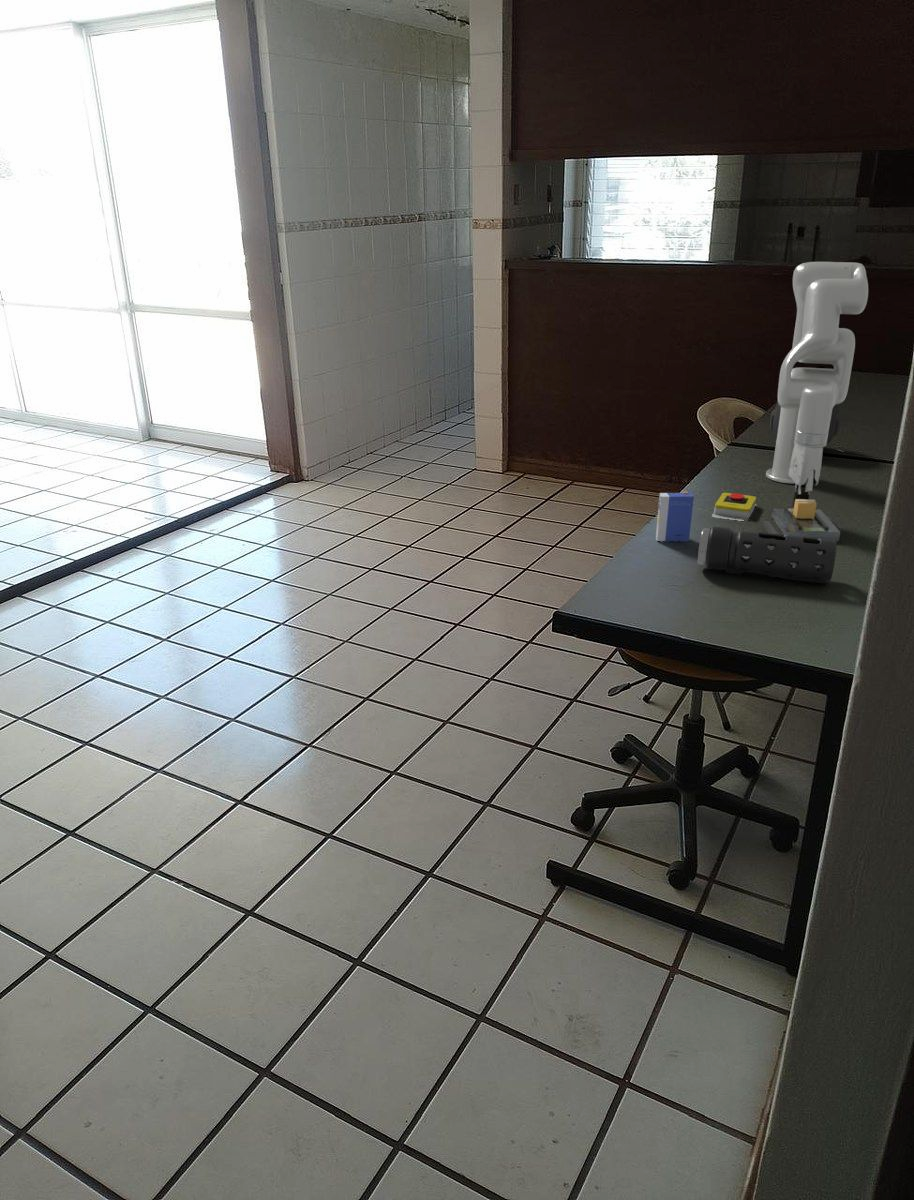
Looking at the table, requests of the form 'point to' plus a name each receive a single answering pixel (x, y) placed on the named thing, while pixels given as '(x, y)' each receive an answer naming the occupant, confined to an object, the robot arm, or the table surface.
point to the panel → (805, 525)
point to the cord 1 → (769, 527)
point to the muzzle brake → (767, 554)
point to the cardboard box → (804, 508)
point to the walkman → (674, 517)
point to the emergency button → (734, 506)
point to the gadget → (832, 428)
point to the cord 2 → (832, 522)
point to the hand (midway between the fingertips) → (799, 508)
